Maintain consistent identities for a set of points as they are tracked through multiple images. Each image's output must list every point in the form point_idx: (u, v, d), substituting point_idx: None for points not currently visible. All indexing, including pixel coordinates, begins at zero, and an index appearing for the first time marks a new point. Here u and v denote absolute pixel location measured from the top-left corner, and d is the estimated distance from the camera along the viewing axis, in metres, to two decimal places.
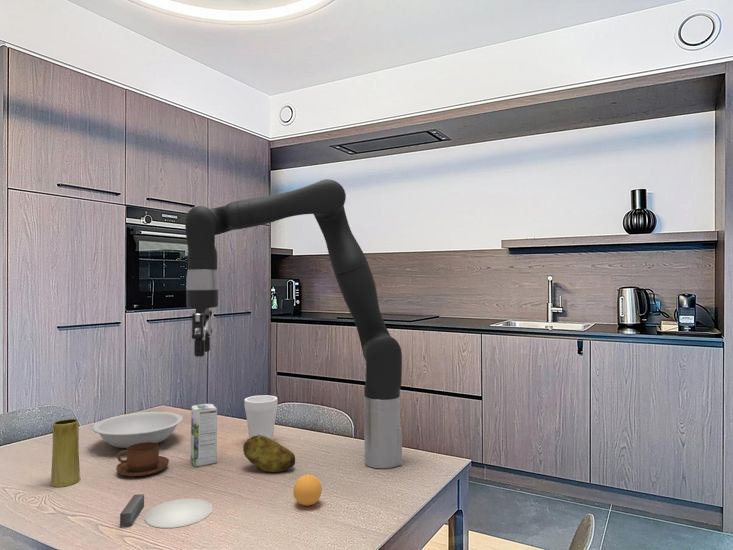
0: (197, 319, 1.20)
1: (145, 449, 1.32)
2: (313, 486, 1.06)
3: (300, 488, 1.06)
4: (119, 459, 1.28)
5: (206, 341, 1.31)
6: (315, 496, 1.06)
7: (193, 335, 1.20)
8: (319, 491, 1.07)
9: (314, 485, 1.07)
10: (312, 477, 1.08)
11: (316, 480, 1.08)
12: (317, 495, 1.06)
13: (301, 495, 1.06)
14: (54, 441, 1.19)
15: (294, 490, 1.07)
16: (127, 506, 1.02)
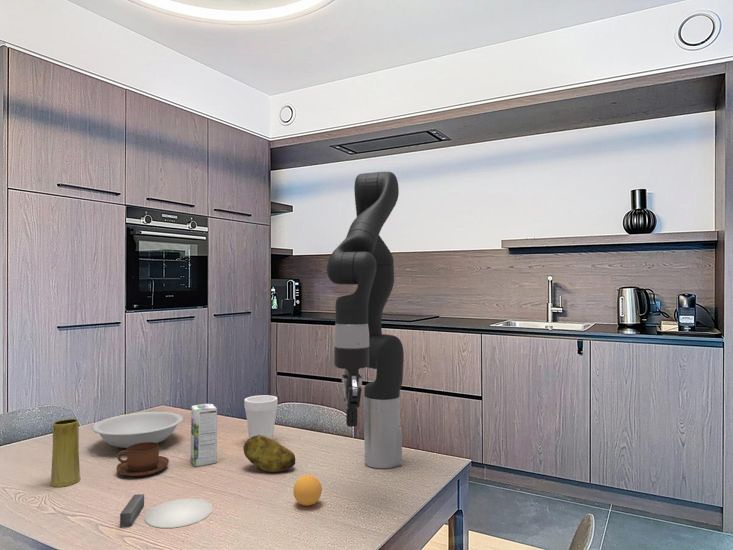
0: (354, 395, 1.05)
1: (145, 449, 1.32)
2: (313, 486, 1.06)
3: (300, 488, 1.06)
4: (119, 459, 1.28)
5: None
6: (315, 496, 1.06)
7: (349, 406, 1.07)
8: (319, 491, 1.07)
9: (314, 485, 1.07)
10: (312, 477, 1.08)
11: (316, 480, 1.08)
12: (317, 495, 1.06)
13: (301, 495, 1.06)
14: (54, 441, 1.19)
15: (294, 490, 1.07)
16: (127, 506, 1.02)
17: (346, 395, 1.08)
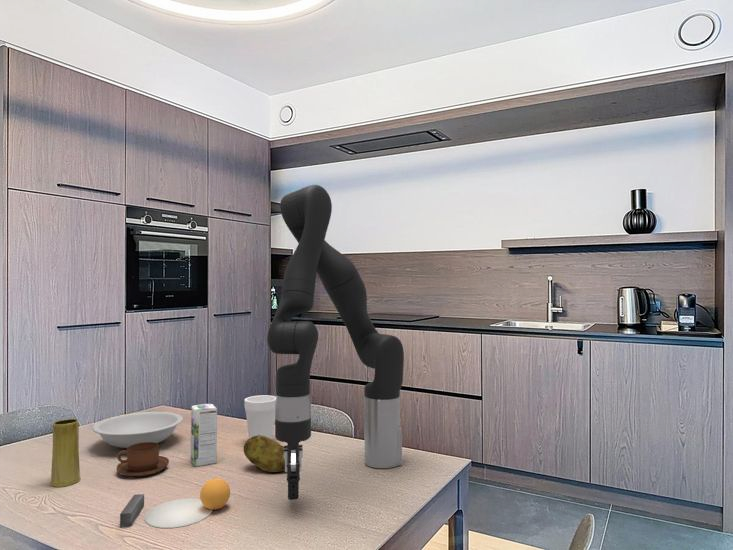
0: (293, 471, 1.03)
1: (145, 449, 1.32)
2: (220, 491, 1.05)
3: (208, 490, 1.04)
4: (119, 459, 1.28)
5: None
6: (220, 502, 1.04)
7: (288, 481, 1.05)
8: (225, 498, 1.05)
9: (221, 491, 1.05)
10: (222, 483, 1.06)
11: (226, 486, 1.06)
12: (221, 501, 1.05)
13: (205, 498, 1.04)
14: (54, 441, 1.19)
15: (201, 490, 1.06)
16: (127, 506, 1.02)
17: (286, 468, 1.06)
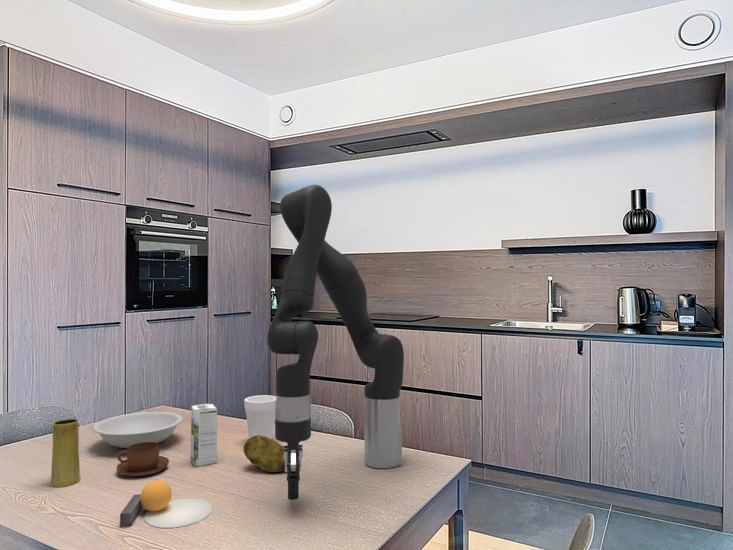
0: (293, 471, 1.03)
1: (145, 449, 1.32)
2: (152, 510, 1.04)
3: (162, 501, 1.04)
4: (119, 459, 1.28)
5: None
6: (144, 504, 1.03)
7: (288, 481, 1.05)
8: None
9: (152, 510, 1.04)
10: None
11: None
12: (143, 505, 1.03)
13: (157, 496, 1.03)
14: (54, 441, 1.19)
15: (166, 491, 1.05)
16: (127, 506, 1.02)
17: (286, 468, 1.06)
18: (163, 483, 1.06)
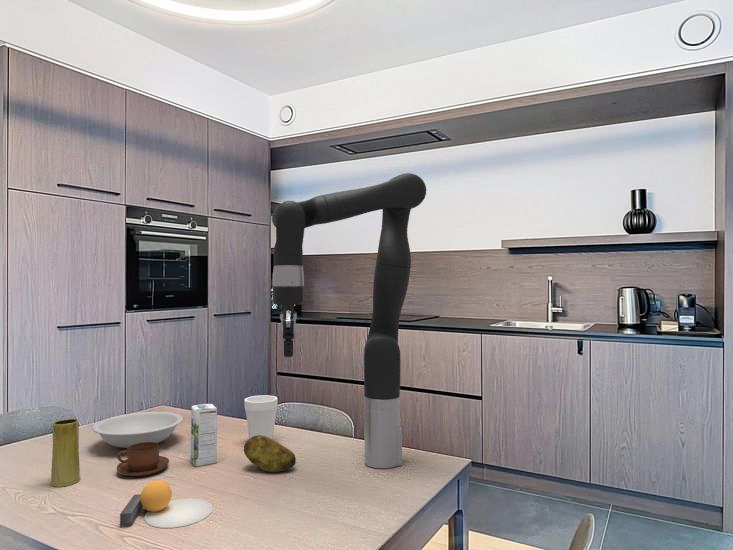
0: (288, 326, 1.19)
1: (145, 449, 1.32)
2: (152, 510, 1.04)
3: (162, 501, 1.04)
4: (119, 459, 1.28)
5: None
6: (144, 504, 1.03)
7: (284, 337, 1.21)
8: None
9: (152, 510, 1.04)
10: None
11: None
12: (143, 505, 1.03)
13: (157, 496, 1.03)
14: (54, 441, 1.19)
15: (166, 491, 1.05)
16: (127, 506, 1.02)
17: (282, 328, 1.22)
18: (163, 483, 1.06)
